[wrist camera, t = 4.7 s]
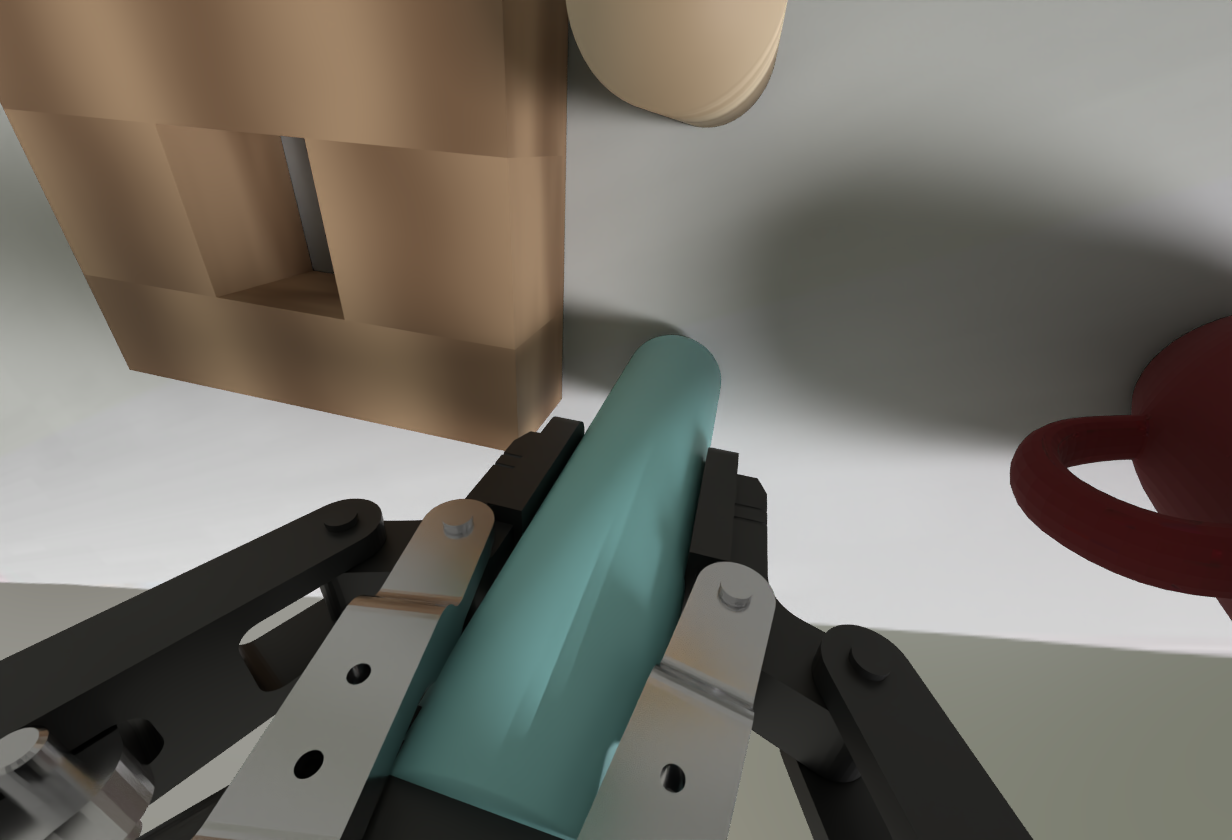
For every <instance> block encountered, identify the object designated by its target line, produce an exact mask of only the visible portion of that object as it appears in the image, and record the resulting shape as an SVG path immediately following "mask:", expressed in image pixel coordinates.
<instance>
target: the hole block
mask: <svg viewBox="0 0 1232 840" xmlns="http://www.w3.org/2000/svg"><path fill="white" fill-rule="evenodd" d="M567 65H568V12H567V6H566V0H0V103H1V105H2V107H3V109H4V111H5V113H6V115H7V117H8V119H9V121H10V123H11V125H12V127H13V129H14V132H15V134H16V136H17V138H18V140H19V142H20V144H21V146H22V148H23V150H24V152H25V154H26V156H27V158H28V160H29V163H30V165H31V167H32V169H33V171H34V173H35V175H36V177H37V179H38V181H39V183H40V185H41V187H42V189H43V191H44V193H45V196H46V198H47V200H48V202H49V204H50V206H51V208H52V210H53V212H54V214H55V216H56V218H57V220H58V222H59V224H60V226H61V229H62V231H63V233H64V235H65V237H66V239H67V241H68V243H69V245H70V247H71V249H72V251H73V253H74V255H75V257H76V260H77V262H78V264H79V266H80V268H81V270H82V272H83V274H84V276H85V278H86V280H87V282H88V284H89V286H90V288H91V290H92V293H93V295H94V297H95V299H96V301H97V303H98V305H99V307H100V309H101V311H102V313H103V315H104V317H105V319H106V321H107V324H108V326H109V328H110V330H111V332H112V334H113V336H114V338H115V340H116V342H117V344H118V346H119V348H120V350H121V352H122V354H123V357H124V359H125V361H126V363H127V365H128V367H129V369H130V370H134V371H139V372H143V373H148V374H153V375H157V376H162V377H166V378H171V379H176V380H180V381H185V382H189V383H194V384H199V385H203V386H208V387H212V388H217V389H222V390H226V391H231V392H236V393H240V394H245V395H249V396H254V397H259V398H263V399H268V400H272V401H277V402H282V403H286V404H291V405H296V406H300V407H305V408H309V409H314V410H319V411H323V412H328V413H332V414H337V415H342V416H346V417H351V418H356V419H360V420H365V421H369V422H374V423H379V424H383V425H388V426H392V427H397V428H402V429H406V430H411V431H416V432H420V433H425V434H429V435H434V436H439V437H443V438H448V439H452V440H457V441H462V442H466V443H471V444H476V445H480V446H485V447H489V448H494V449H499V450H503V451H505V450H506V449H507V448H508V447H509V446H510V444H511V443H512V442H513V441H514V440H515V439H517V438H519V437H521V436H523V435H524V434H526V433H528V432H530V431H532V432H536V431H537V430H538V429H539V427H540V426H541V425H542V424H543V422H544V421H545V420H546V418H547V417H548V416H549V415H550V413H551V412H552V411H553V410H554V408H555V407H556V406H557V404H558V403H559V402H560V401H561V399H562V353H563V295H564V237H565V180H566V122H567ZM280 136H288V137H298V138H304V139H305V143H306V148H307V152H308V157H309V161H310V166H311V170H312V175H313V179H314V184H315V188H316V193H317V197H318V202H319V206H320V211H321V215H322V220H323V224H324V229H325V233H326V238H327V242H328V247H329V251H330V256H331V260H332V265H333V269H334V274H331V273H325V272H318V271H313V268H312V264H311V260H310V256H309V252H308V248H307V244H306V240H305V236H304V231H303V227H302V223H301V219H300V215H299V211H298V207H297V203H296V199H295V195H294V190H293V186H292V182H291V178H290V174H289V170H288V166H287V162H286V158H285V154H284V149H283V145H282V141H281V137H280Z"/></svg>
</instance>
